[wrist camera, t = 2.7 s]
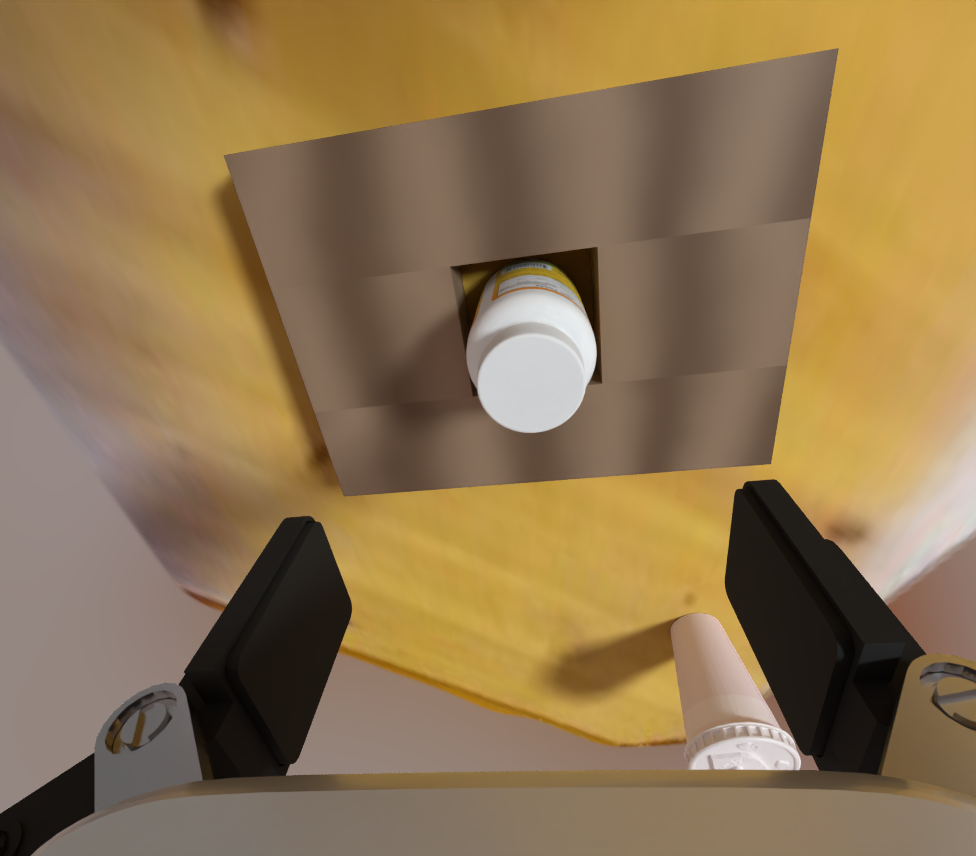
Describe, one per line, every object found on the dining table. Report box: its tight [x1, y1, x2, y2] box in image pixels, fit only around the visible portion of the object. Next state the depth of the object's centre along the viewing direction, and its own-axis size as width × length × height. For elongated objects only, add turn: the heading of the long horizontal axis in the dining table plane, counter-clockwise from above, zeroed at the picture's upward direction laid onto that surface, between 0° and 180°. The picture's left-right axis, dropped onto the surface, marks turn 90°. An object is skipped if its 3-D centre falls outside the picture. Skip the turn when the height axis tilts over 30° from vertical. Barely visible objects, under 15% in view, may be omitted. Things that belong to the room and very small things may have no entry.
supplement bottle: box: [466, 259, 597, 433], centre depth 22 cm, size 5×5×10 cm
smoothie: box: [670, 613, 801, 770], centre depth 31 cm, size 6×6×14 cm
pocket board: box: [224, 49, 838, 496], centre depth 25 cm, size 24×18×3 cm
